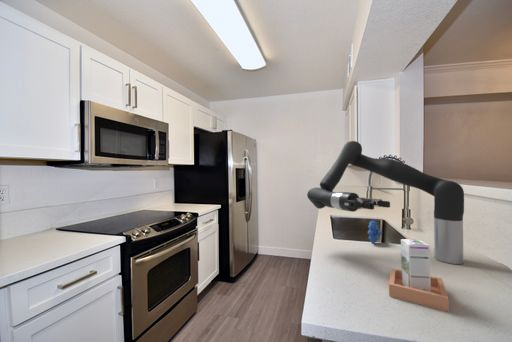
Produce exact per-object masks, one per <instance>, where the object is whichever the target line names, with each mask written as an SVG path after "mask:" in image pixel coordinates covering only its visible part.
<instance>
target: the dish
mask: <svg viewBox="0 0 512 342" xmlns="http://www.w3.org/2000/svg"><path fill="white" fill-rule="evenodd" d="M430 279H431V292H428V291H424V290H419V289H415V288H411V287H407V286H403V284H402V270H401V269H397V268H391V270H390V277H389V283H388V296H389V297H392V298H396V299H399V300H403V301H407V302H410V303H413V304H414V303H415V304H419V305H421V304H422V305H421V306H425V305H426V306H425V307H430V308H433V309H438V310H441V311H444V312H448V313H449V312H450V311H449V297H448V296H449V295H448V293H447V289H446V287H445V284H444V281H443V278H442V277H441V278H440V277H437V276H431V275H430Z"/></svg>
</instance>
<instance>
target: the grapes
mask: <svg viewBox="0 0 512 342" xmlns="http://www.w3.org/2000/svg"><path fill="white" fill-rule="evenodd" d="M368 224H369V225H367V227H368V231H367V234H368V235H369V236H368V239H369V241H370V243H372V244H375V243H377V241H378V240H379V238H378V237H379V236H382V234H383V231H382V230H380V228H379V227H378V225H379V224H378V223H377V221H375V220H370V221H369V223H368Z"/></svg>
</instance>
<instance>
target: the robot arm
mask: <svg viewBox="0 0 512 342" xmlns="http://www.w3.org/2000/svg"><path fill="white" fill-rule="evenodd" d="M362 152H363V147H362V145H361V143H360V142H358V141H355V140H350V141H347V142H346V143H345V144H344V145H343V147H342V149H341V151H340V153H339V155H338V156H337V159H336V160H335V161H334V162H333V165H332V166H331V168H330V169H329V170H328V172H326V174H325V176H324V177H322V179H321V180H320V182H319V186H320V187H313V188H310V189H309V190H308V191H307V194H306V195H307V199H308V200H309V201H310V202H311V203H312V205H313V206H314V207H315V208H317V209H319V210H321V209H324V208H325V207H327V208H332V209H336V210H339V211H345V212H346V211H347V212H353V213H354V212H356V211H358V210H364V209H366V210H375V207H376V208H387V209H388V208H390V207H391V202H390V201H389V200H383V199H381V198H380V199H379V198H369V197H368V198H367V197H360V196H359V194H357V193H355V192H347V191H334V190H335V188H336V187H337V185H338V184H339V183H340V181H341V179H342V178H343V176H344V173H345V172H346V170H347V168H348V166H349V165H351V166H353V167H354V166H355V167H358V168H361V169H364V170H365V171H369V172H371V173H374V174H376V175H379V176H381V177H384V178H386V179H387V180H389V181H390V180H391V181H393V182H395V183H398V184H401V185H405V186H409V187H412V188H416V189H418V190H421V191H422V192H425V193H427V194H429V195H431V196H433V198H434V206H433V207H434V209H433V232H434V233H433V234H434V235H433V238H434V239H433V240H434V242H433V243H434V244H433V245H434V249H433V250H434V252H433V253H434V255H433V256H434V259H435V258H436V259H435V260H437V261H440V262H442V263H446V264H452V265H453V264H454V265H463V264H464V213H465V193H464V192H465V191H464V189H463V186H462V185H461V184H459V183H458V182H455V181H454V180H448V179H442V178H439V177H437V176H436V177H435V176H434V175H430V174H426V173H425V172H422V171H420V170H418V169H417V168H415V167H414V166H413V167H412V166H411V165H408V164H406V163H404V162H401V161H398V160H395V159H392V158H373V157H370V156H367V155H364V154H362Z"/></svg>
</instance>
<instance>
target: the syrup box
mask: <svg viewBox="0 0 512 342" xmlns="http://www.w3.org/2000/svg"><path fill="white" fill-rule="evenodd" d="M430 249H431V247H430V244H428V243H426V242H424V241H422V240H421V239H414V238H404V239H403V238H401V239H400V251H401V252H400V255H401V257H400V258H401V259H400V264H401V267H400V270H402V284H403V286H407V287H411V288H415V289H419V290H424V291H428V292H431V279H430V276H431V255H430V254H431V253H430V252H431V251H430Z"/></svg>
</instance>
